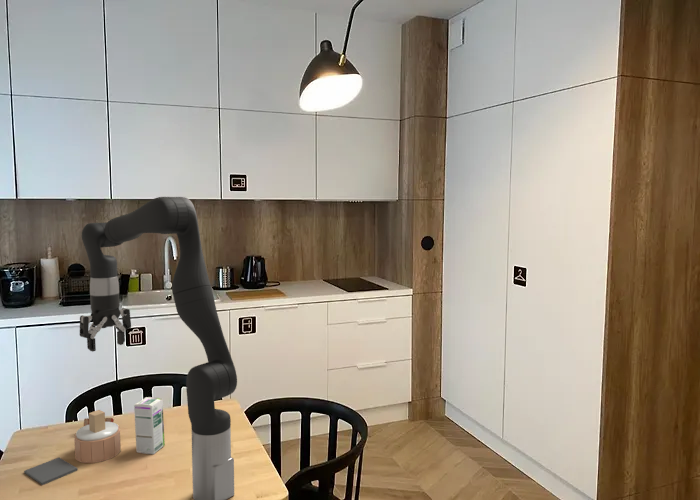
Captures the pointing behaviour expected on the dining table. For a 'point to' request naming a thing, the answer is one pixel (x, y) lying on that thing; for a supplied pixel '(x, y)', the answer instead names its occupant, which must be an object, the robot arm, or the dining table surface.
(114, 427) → the lid
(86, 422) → the fruit slice
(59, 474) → the mat
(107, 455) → the bowl
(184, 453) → the dining table surface
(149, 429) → the syrup box
